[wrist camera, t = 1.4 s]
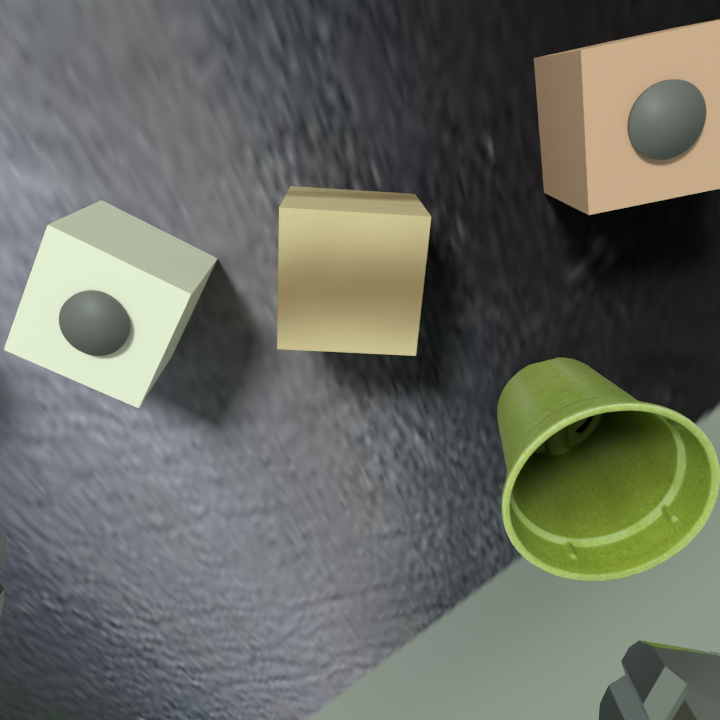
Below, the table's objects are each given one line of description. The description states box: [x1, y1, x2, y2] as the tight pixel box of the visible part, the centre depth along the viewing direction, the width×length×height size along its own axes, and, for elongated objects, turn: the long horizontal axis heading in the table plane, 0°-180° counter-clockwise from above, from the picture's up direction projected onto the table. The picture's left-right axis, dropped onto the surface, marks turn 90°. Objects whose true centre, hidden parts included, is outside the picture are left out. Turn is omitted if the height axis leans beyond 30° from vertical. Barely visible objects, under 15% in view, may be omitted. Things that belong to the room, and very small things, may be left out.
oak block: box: [277, 186, 431, 356], centre depth 28 cm, size 6×6×6 cm
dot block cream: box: [4, 200, 217, 408], centre depth 28 cm, size 6×6×6 cm
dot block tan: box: [534, 19, 720, 215], centre depth 26 cm, size 6×6×6 cm
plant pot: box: [497, 358, 720, 581], centre depth 31 cm, size 9×9×9 cm
